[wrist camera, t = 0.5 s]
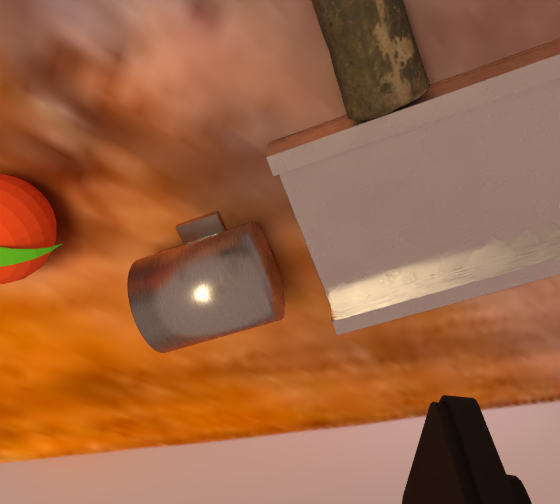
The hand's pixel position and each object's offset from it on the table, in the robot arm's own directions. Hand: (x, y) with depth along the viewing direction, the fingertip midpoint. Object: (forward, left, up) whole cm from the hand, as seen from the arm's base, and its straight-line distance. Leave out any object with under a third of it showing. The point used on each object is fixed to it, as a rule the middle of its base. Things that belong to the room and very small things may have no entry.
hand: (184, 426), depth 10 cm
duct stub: (+7, +9, -26) cm, 28 cm away
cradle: (-9, +9, -26) cm, 28 cm away
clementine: (+18, +1, -26) cm, 31 cm away
